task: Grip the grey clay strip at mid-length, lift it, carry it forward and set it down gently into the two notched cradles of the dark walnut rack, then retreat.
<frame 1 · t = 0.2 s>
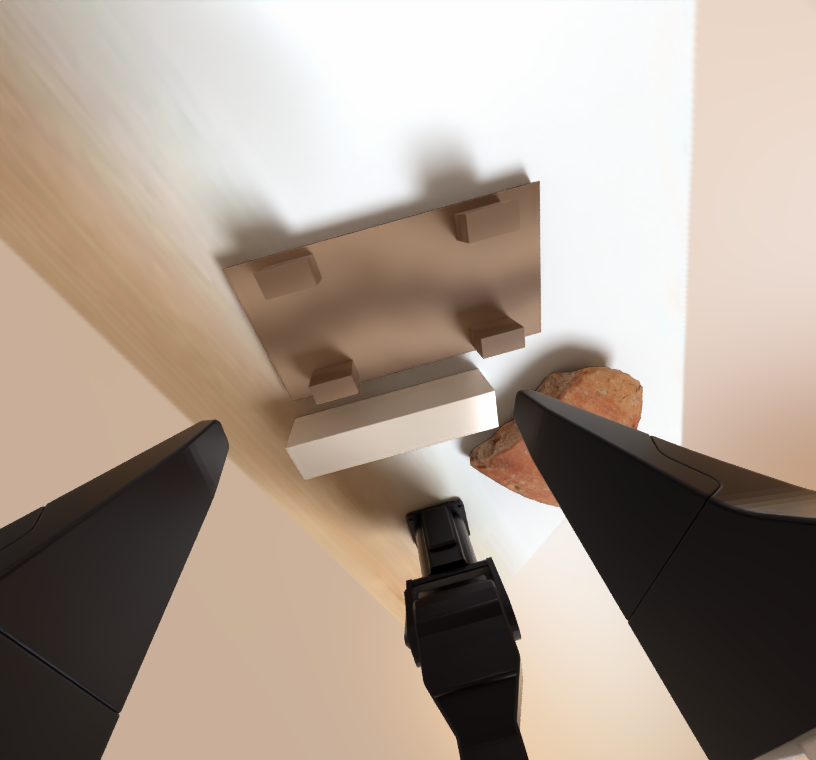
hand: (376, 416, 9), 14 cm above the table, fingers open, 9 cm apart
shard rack: (399, 300, 21), on the table
clay strip: (391, 407, 26), on the table
ceramic shard: (560, 427, 30), on the table
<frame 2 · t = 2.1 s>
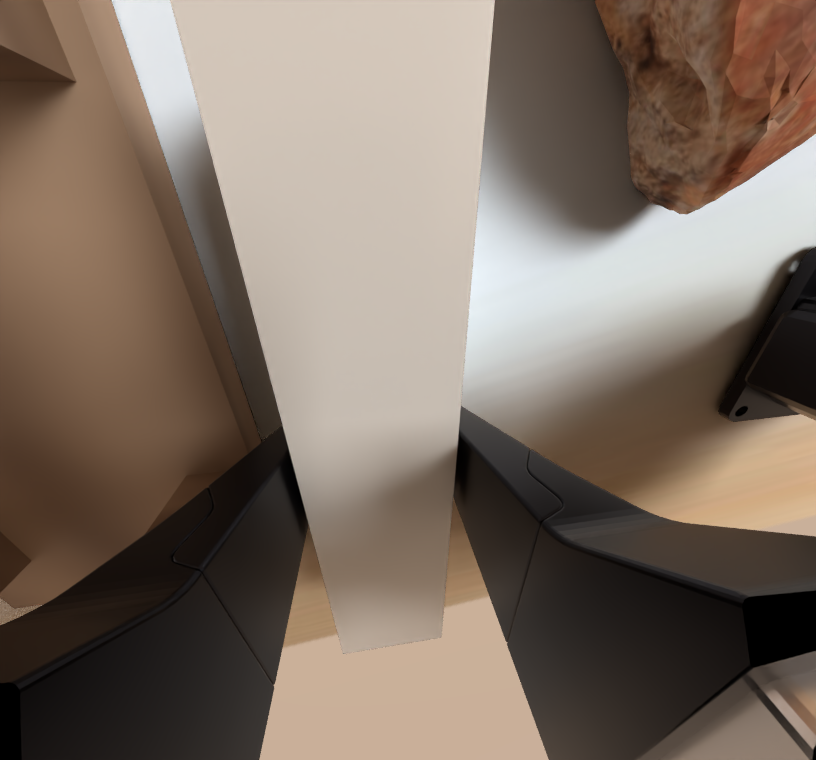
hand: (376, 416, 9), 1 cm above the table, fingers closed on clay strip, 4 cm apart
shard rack: (15, 333, 8), on the table
clay strip: (374, 394, 10), on the table, touching gripper
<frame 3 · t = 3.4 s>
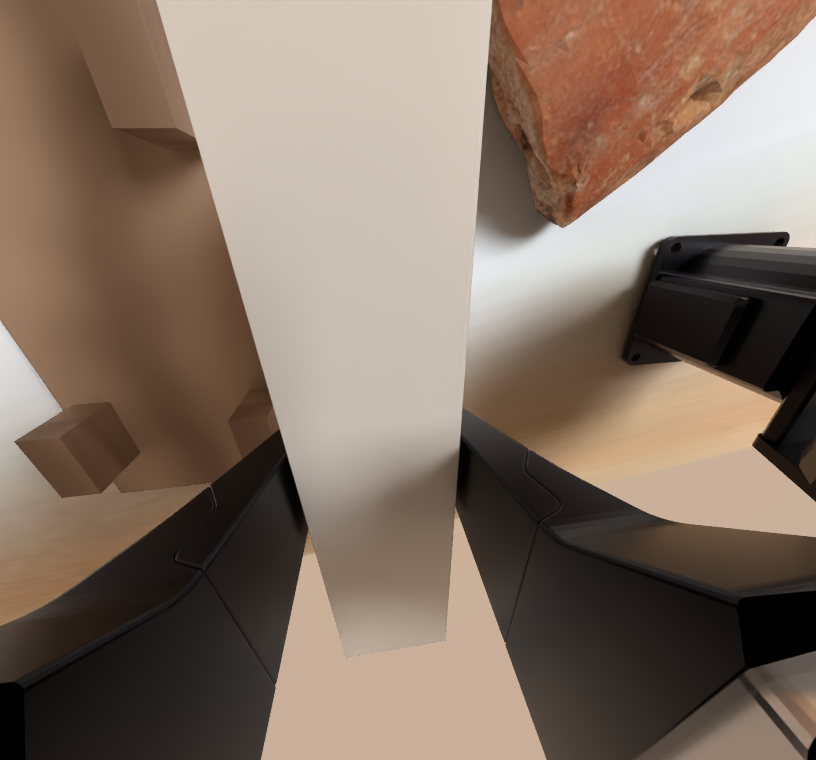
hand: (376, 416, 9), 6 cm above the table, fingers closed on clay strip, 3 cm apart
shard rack: (151, 291, 12), on the table
clay strip: (375, 395, 10), point 5 cm above the table, touching gripper
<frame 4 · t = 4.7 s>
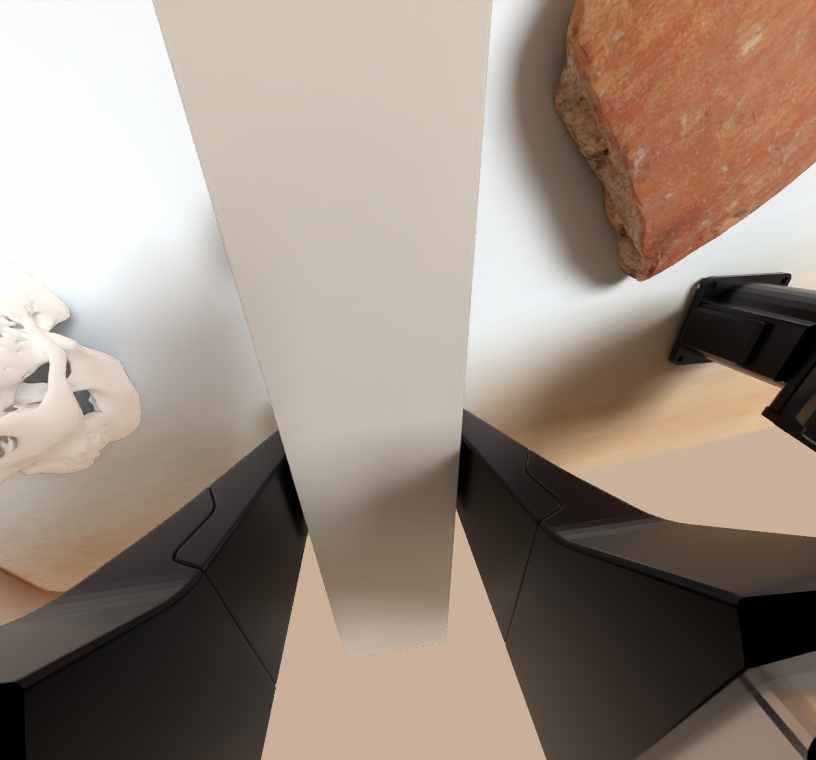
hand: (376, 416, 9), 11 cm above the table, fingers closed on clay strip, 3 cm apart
skull bowl: (28, 333, 17), on the table
clay strip: (375, 396, 10), point 10 cm above the table, touching gripper
ceramic shard: (684, 74, 15), on the table
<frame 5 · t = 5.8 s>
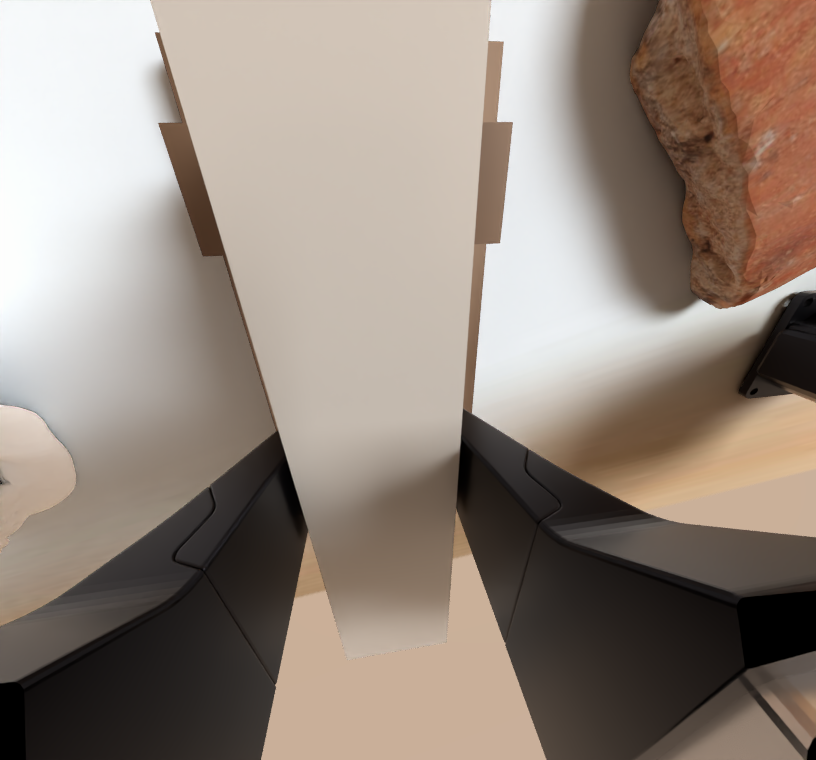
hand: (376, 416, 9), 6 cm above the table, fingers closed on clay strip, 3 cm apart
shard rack: (370, 345, 14), on the table
clay strip: (375, 396, 10), point 5 cm above the table, touching gripper
ceramic shard: (802, 33, 11), on the table
when the fingers open (3 cm above the table, at t = 6.7 s): clay strip drops 1 cm, resting on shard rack.
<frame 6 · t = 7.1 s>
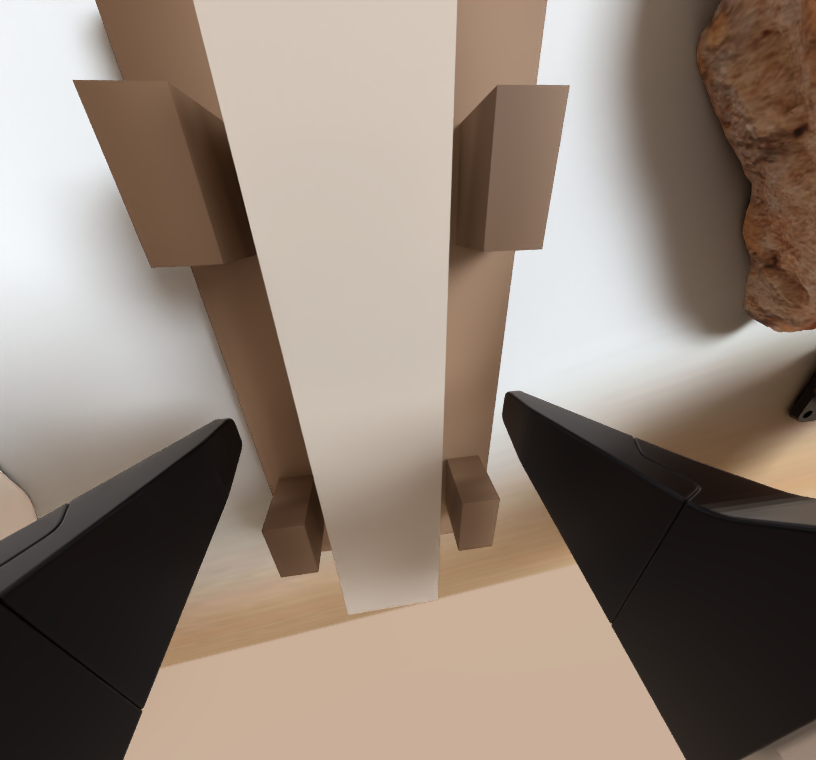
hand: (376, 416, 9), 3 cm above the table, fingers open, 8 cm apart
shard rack: (372, 367, 12), on the table
clay strip: (373, 378, 11), point 1 cm above the table, touching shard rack
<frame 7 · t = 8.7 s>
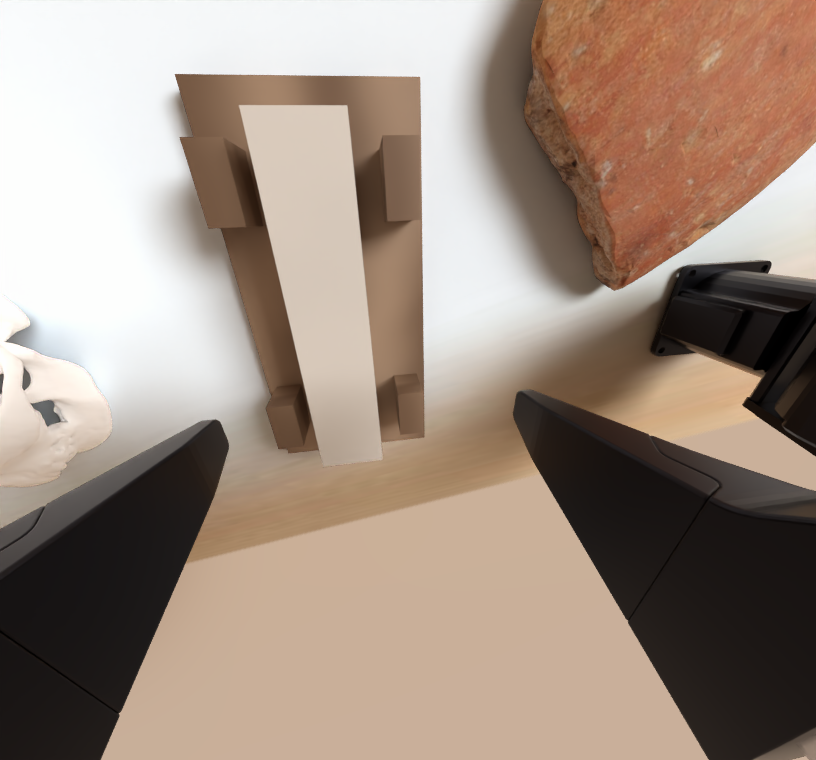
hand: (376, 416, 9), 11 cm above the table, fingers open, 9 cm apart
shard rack: (339, 307, 18), on the table
clay strip: (338, 311, 17), point 1 cm above the table, touching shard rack
ceramic shard: (652, 86, 16), on the table
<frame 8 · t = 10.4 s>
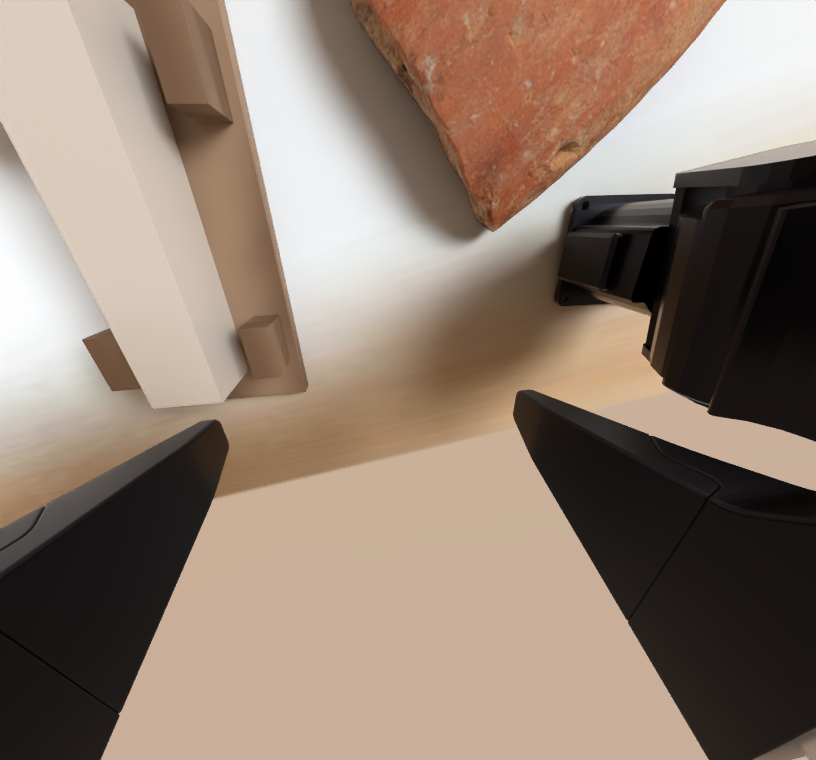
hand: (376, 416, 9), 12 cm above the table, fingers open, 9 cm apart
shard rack: (180, 234, 16), on the table
clay strip: (169, 234, 15), point 1 cm above the table, touching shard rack
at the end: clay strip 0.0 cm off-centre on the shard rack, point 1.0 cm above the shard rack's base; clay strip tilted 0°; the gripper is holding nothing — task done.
